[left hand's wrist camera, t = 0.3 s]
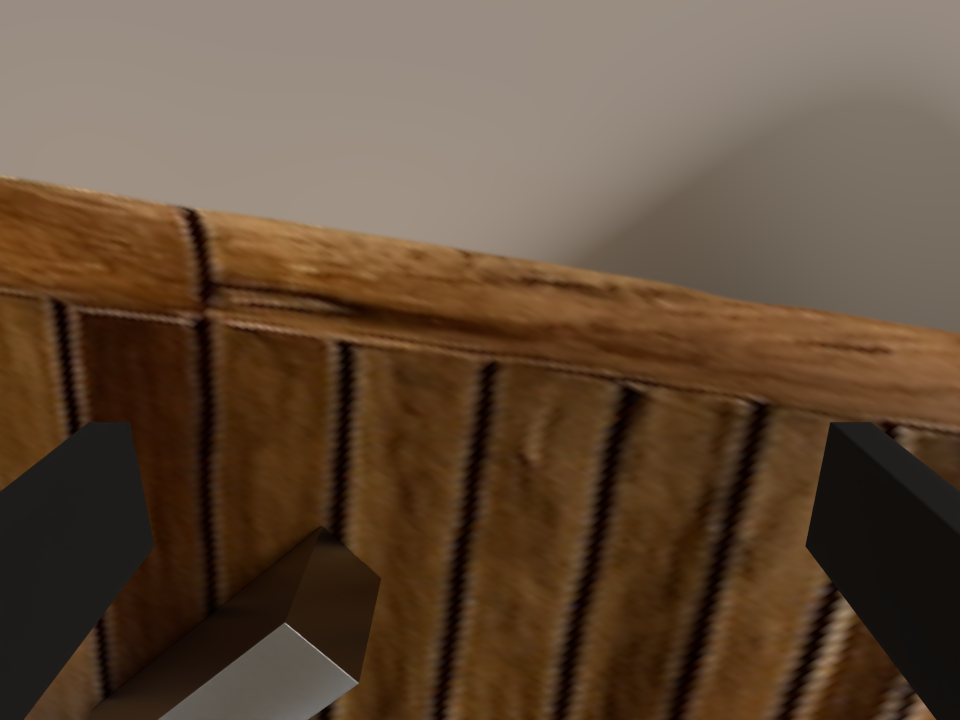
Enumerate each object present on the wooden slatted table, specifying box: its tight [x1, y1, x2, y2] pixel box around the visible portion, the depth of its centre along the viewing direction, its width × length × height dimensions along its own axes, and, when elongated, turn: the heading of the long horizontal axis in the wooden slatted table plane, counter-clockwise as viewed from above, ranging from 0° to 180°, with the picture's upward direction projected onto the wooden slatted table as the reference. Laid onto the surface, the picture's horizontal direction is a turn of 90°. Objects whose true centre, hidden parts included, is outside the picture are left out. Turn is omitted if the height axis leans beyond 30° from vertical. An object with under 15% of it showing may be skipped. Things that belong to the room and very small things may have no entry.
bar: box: [87, 526, 381, 720], centre depth 44 cm, size 24×6×9 cm, turn 131°
